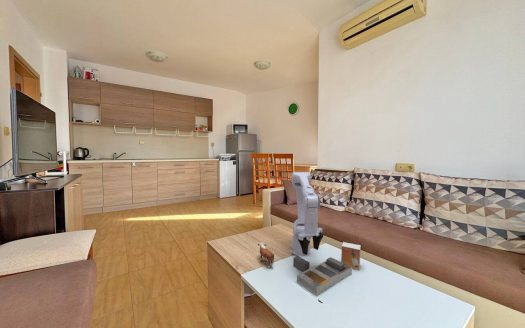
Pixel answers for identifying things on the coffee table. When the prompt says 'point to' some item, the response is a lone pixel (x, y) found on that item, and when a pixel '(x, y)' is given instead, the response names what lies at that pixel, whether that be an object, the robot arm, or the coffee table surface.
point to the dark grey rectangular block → (335, 264)
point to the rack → (322, 277)
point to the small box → (351, 255)
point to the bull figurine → (266, 254)
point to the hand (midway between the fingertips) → (310, 251)
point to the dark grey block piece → (300, 263)
